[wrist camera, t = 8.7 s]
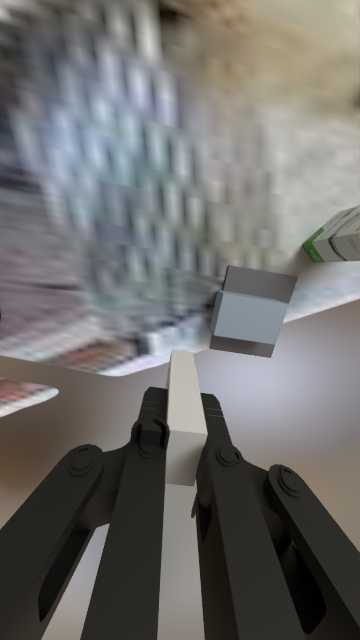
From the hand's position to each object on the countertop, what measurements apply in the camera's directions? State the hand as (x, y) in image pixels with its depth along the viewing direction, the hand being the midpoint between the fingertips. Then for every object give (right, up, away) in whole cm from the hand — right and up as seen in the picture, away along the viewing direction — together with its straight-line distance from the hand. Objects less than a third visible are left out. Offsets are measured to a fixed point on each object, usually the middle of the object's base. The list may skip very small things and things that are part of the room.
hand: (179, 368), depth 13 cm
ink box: (+28, +19, +23) cm, 41 cm away
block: (+7, +5, +23) cm, 25 cm away
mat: (+15, +5, +26) cm, 31 cm away
